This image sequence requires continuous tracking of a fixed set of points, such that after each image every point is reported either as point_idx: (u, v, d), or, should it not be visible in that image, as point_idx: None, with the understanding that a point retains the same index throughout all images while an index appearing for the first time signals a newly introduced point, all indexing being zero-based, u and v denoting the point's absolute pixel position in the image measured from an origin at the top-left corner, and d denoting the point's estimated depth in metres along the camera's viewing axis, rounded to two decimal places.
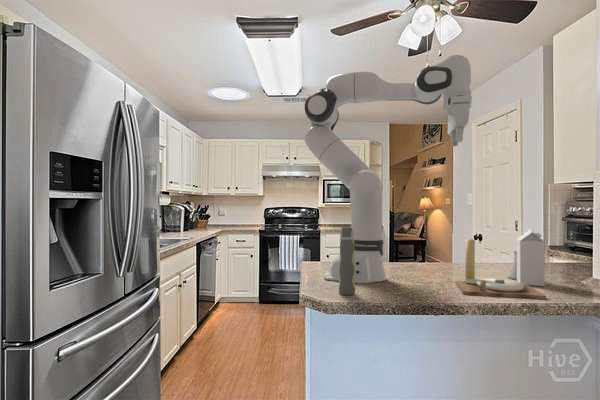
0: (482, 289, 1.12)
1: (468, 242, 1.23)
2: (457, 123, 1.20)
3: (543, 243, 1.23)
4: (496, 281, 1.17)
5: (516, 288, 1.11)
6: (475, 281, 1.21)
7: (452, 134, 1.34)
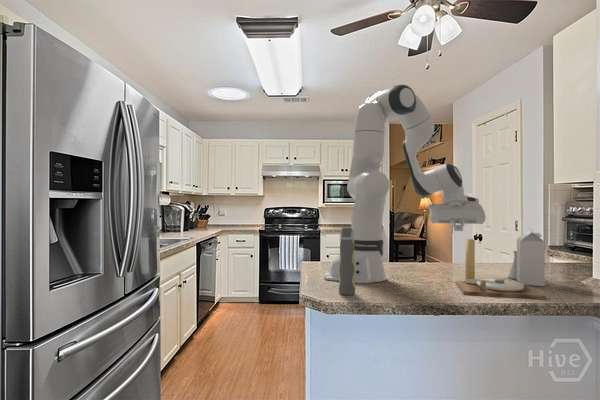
0: (482, 289, 1.12)
1: (468, 242, 1.23)
2: (484, 218, 1.42)
3: (543, 243, 1.23)
4: (496, 281, 1.17)
5: (516, 288, 1.11)
6: (475, 281, 1.21)
7: None
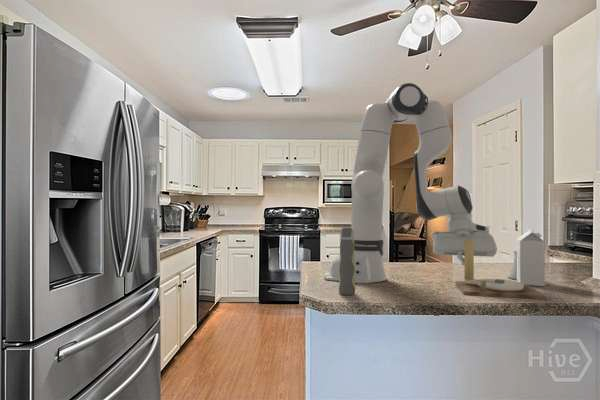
0: (482, 289, 1.12)
1: (467, 242, 1.22)
2: (495, 250, 1.25)
3: (543, 243, 1.23)
4: (496, 281, 1.17)
5: (518, 288, 1.11)
6: (475, 282, 1.20)
7: (461, 252, 1.27)
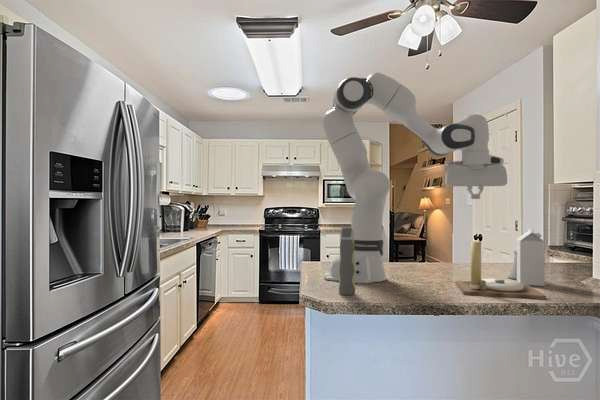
0: (482, 289, 1.12)
1: (479, 245, 1.14)
2: (505, 184, 1.31)
3: (543, 243, 1.23)
4: (500, 282, 1.16)
5: None
6: None
7: (471, 187, 1.34)
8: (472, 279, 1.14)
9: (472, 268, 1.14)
